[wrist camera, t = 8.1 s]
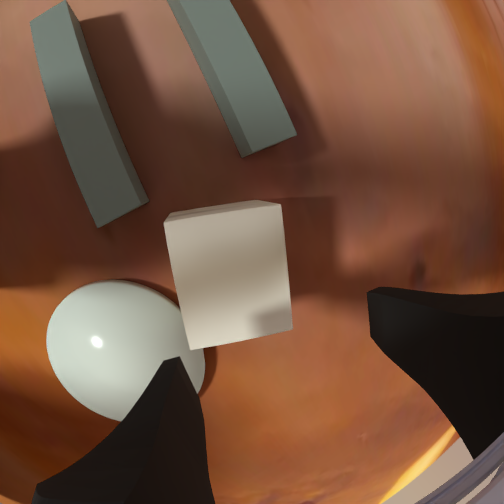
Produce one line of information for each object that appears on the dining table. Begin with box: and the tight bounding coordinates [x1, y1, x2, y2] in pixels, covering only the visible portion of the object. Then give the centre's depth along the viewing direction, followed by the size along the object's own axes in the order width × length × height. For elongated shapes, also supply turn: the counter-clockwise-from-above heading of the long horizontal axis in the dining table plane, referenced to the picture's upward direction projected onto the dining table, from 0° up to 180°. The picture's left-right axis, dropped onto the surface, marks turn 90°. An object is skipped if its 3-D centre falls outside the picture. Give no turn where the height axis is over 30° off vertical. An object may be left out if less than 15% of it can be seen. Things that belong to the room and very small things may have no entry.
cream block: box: [163, 200, 293, 350], centre depth 15 cm, size 6×5×5 cm
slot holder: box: [30, 0, 297, 228], centre depth 13 cm, size 14×11×3 cm
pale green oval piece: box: [47, 279, 205, 421], centre depth 17 cm, size 11×11×1 cm
